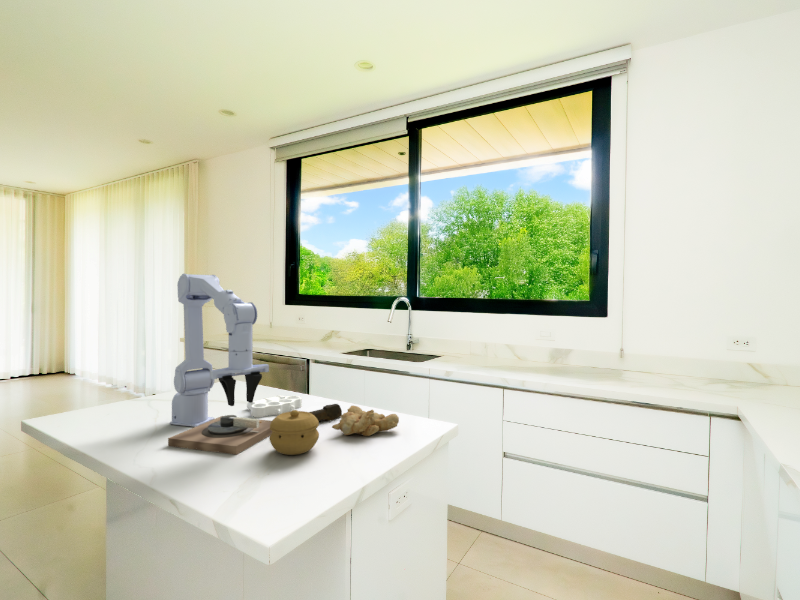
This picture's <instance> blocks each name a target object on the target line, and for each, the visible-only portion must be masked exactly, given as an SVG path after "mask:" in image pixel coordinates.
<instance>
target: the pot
mask: <svg viewBox="0 0 800 600" xmlns="http://www.w3.org/2000/svg"><path fill="white" fill-rule="evenodd" d="M309 412H310V411H303V410H302V411H301V410H297V409H294V410H293V411H290V412H285V413H282V414H278V415H277V416H275V417H274V418H273V419H272V420H271V421H272V422H271V424H270V430H271V431H272V434H271V435H270V436H269V439H268V440H269V441H270V445H271V447H272V448H273V449H274V450H275V451H276V452H278V454H282V455H289V456H294V455H295V456H296V455H301V454H304V453H307V452H308V451H310V450H311V449H313V448H314V446H315V445H316V443H317V442H318V439H319V438H320V433H319V431H318V427H319V426H320V425H319V424H320V421H318V419H317V418H316V417H315V416H314V415H313V414H311V413H309Z"/></svg>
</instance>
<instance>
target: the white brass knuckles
mask: <svg viewBox="0 0 800 600" xmlns="http://www.w3.org/2000/svg"><path fill="white" fill-rule="evenodd" d="M302 400H303V398H302V397H301V396H299V395H290V396H287V395H286V396H284V395H276V396H272V397H267V398H262V399H258V400H253V402H252V403H250V402H247V403H246V408H247V410H248V409H250V410H249V411H250V416H251V417H253V416H254V417H253V418H264V417H267V416H268V415H269V416H276V415H277V416H278V415H280V414H282V413H286V412H291V411H293V410H297V409H301V408H302V407H303V406H302V405H303V401H302Z"/></svg>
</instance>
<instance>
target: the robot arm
mask: <svg viewBox="0 0 800 600" xmlns="http://www.w3.org/2000/svg"><path fill="white" fill-rule="evenodd" d="M177 298H178V302H179V303H180V304H182V305H183V323H184V324H183V326H184V328H183V330H184V351H185V353H184V354H185V355H184V357H185V359H184V360H183V361H181V362H180V364H178V365H177V366H176V367H175V371H174V378H173V386H174V389H175V392H176V393H175V394H174V396H173V398H172V400H171V421H170V422H169V424H170V425H177V426H186V427H192V428H194V427H196V426H199V425H201V424H204V423H206V422H209V421H211V420H213V419H216V418H215V417H213V416H209V392H210V391H211V389H212V388H213V386H214V385H215V383H216V382H215V380H217V379H218V381H219V383H220V385H221V386H222V388H223V390H224V393H225V396H226V401H227V404H228V405H227V406H230V407H234V406H235V391H236V384H237V383H236V382H237V380H236V379H234V377H237V376H244V379H245V385H246V386H245V387H246V394H245V395H246V396H245V397H246V402H247V403H249V402H250V403H252V402H253V401H254V397H255V394H256V391H257V388H258V386H259V384H260V382H261V380H262V378H263V374H262V373H270V365H269V364H267V363H263V364H262V363H261V364H253V358H254V357H253V348H254V347H253V342H254V341H253V340H254V339H253V332H254V331H253V328H254V327H253V325H254V324H256V322H257V319H258V310H257V307H256V305H255V304H254V303H253V302H252V301H251V302H250V301H249V302H245V301H243V300H242V298H241V297H239V296H238V295H236V294H235V293H234V291H233V290H232V289H224V288H223V287H222V286H221V285H220V278H219V277H218V276H217V275H215V274H192V273H191V274H190V273H188V274H187V273H182V274H181V275H180V276H179V278H178V280H177ZM212 300H213V304H214V306H215V308H216V309H217V310H218V311H219V312H220V313H222V314H223V319H224V323H225V330H226V333H228V367H223V368H218V369H217V368H216V369H213V364H212V363H211V362H210V361H208V360H205V356H204V354H205V353H204V349H205V348H204V331H203V330H204V326H203V323H204V322H203V306H204V305H205V304H207V303H209V302H210V301H212Z"/></svg>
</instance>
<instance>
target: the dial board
mask: <svg viewBox="0 0 800 600" xmlns="http://www.w3.org/2000/svg"><path fill="white" fill-rule="evenodd" d="M222 416H223V415H221V416H218V417H216V418H215V419H213V420H211V421H209V422H206V423H204V424H201V425H199V426H196V427H192V428H190V429H186V430H185V431H182V432H180V433H177V434H175V435H173V436H170V437H168V438H167V446H168V447H173V448H180V449H181V448H182V449H187V448H188V449H189V450H196V451H204V452H212V453H220V454H221V453H222V454H228V455H235V456H237V455H239V454H241V453H242V452H244V451H246V450H247V449H249V448H251V447H253V446H254V445H256V444H258V443H260V442H261V441H263V440H264V439H266V438H268V437H270V435H271V434H272V431H271V430H270V424H271V422H272V420H268V419H267V420H266V419H259V427H258V428H247V429H246V430H244V431H241V432H238V433H233V434H224V435H217V434H211V433H209V432H208V426H209V425H210V424H212V423H214V422H217V421H220V418H221V417H222Z"/></svg>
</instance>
